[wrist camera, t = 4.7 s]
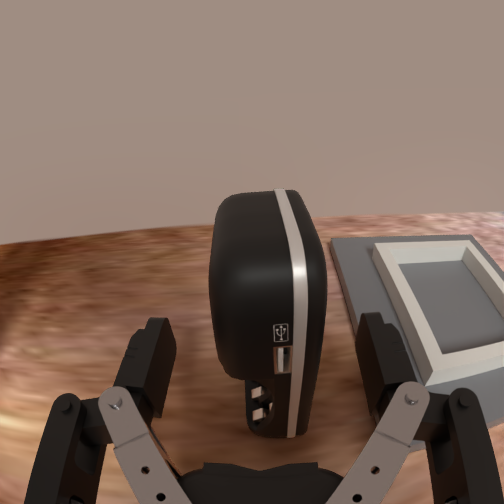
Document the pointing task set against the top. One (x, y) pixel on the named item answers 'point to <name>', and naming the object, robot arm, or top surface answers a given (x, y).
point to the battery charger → (269, 305)
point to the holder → (433, 309)
